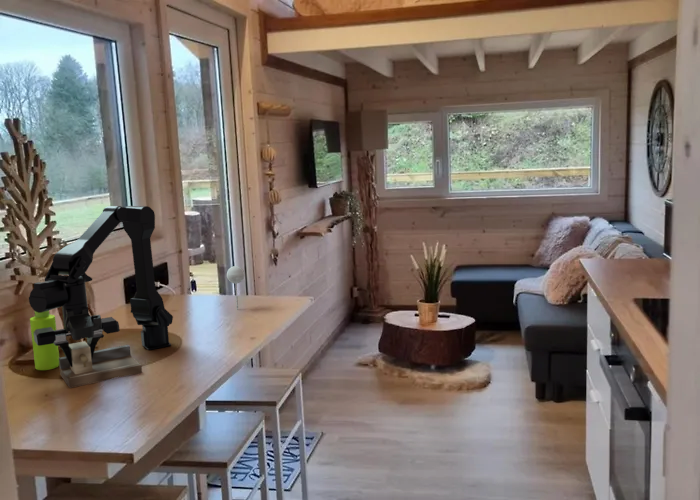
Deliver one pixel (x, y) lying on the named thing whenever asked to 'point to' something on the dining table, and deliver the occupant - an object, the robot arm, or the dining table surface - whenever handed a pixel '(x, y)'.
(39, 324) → the soap dispenser
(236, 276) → the lollipop
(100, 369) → the grey stepped stand
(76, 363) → the block
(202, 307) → the dining table surface
